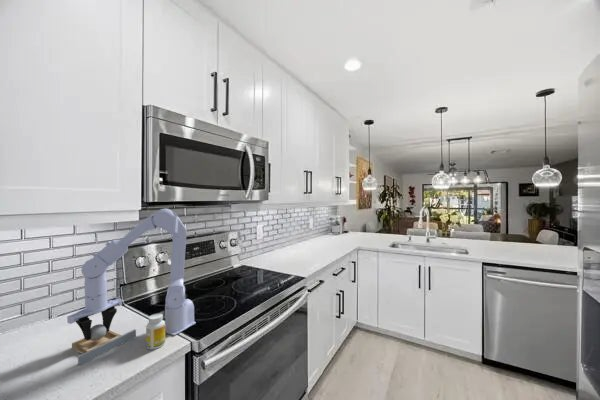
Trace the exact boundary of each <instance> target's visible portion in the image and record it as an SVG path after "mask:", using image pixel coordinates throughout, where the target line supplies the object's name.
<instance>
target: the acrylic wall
mask: <svg viewBox="0 0 600 400" xmlns="http://www.w3.org/2000/svg"><path fill="white" fill-rule="evenodd" d="M120 335H121V336H119V337H117V338H115V339H113V340H111V341H109V342H107V343H105V344H103V345H100V346H98V347H96V348H94V349H92V350H90V351H88V352H86V353H84V354H82V353H81V354H79V355H78V356H77V365H78V366H81V365H83V364H86V363H87V362H90V361H91V360H93V359H95V358H97V357H99V356H101V355H103V354H105V353H108V352H109V351H111V350H113V349H115V348H117V347H119V346H121V345H123V344H125V343H127V342H130V341H131V340H133V339H135V338H136V337H137V329H135V328H134V329H132V330H130V331H128V332H126V333H123V334H120Z"/></svg>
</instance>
